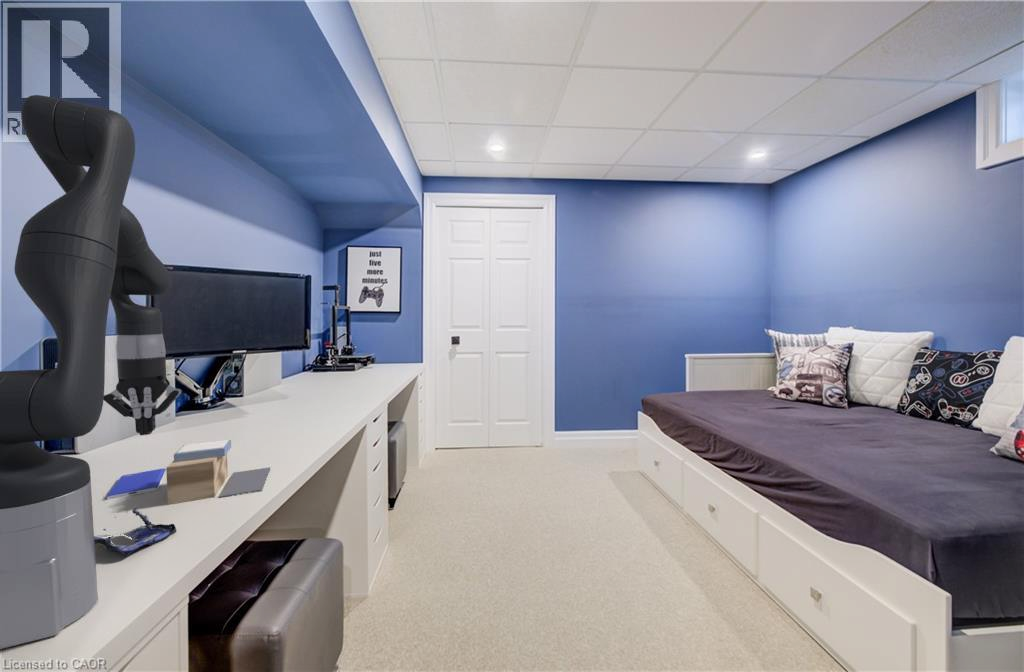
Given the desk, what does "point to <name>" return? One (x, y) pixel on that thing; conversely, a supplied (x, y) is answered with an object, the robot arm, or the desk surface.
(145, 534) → the snack package
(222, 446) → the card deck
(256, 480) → the rubber mat
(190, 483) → the oak step
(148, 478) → the hard drive
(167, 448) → the desk surface
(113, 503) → the desk surface
